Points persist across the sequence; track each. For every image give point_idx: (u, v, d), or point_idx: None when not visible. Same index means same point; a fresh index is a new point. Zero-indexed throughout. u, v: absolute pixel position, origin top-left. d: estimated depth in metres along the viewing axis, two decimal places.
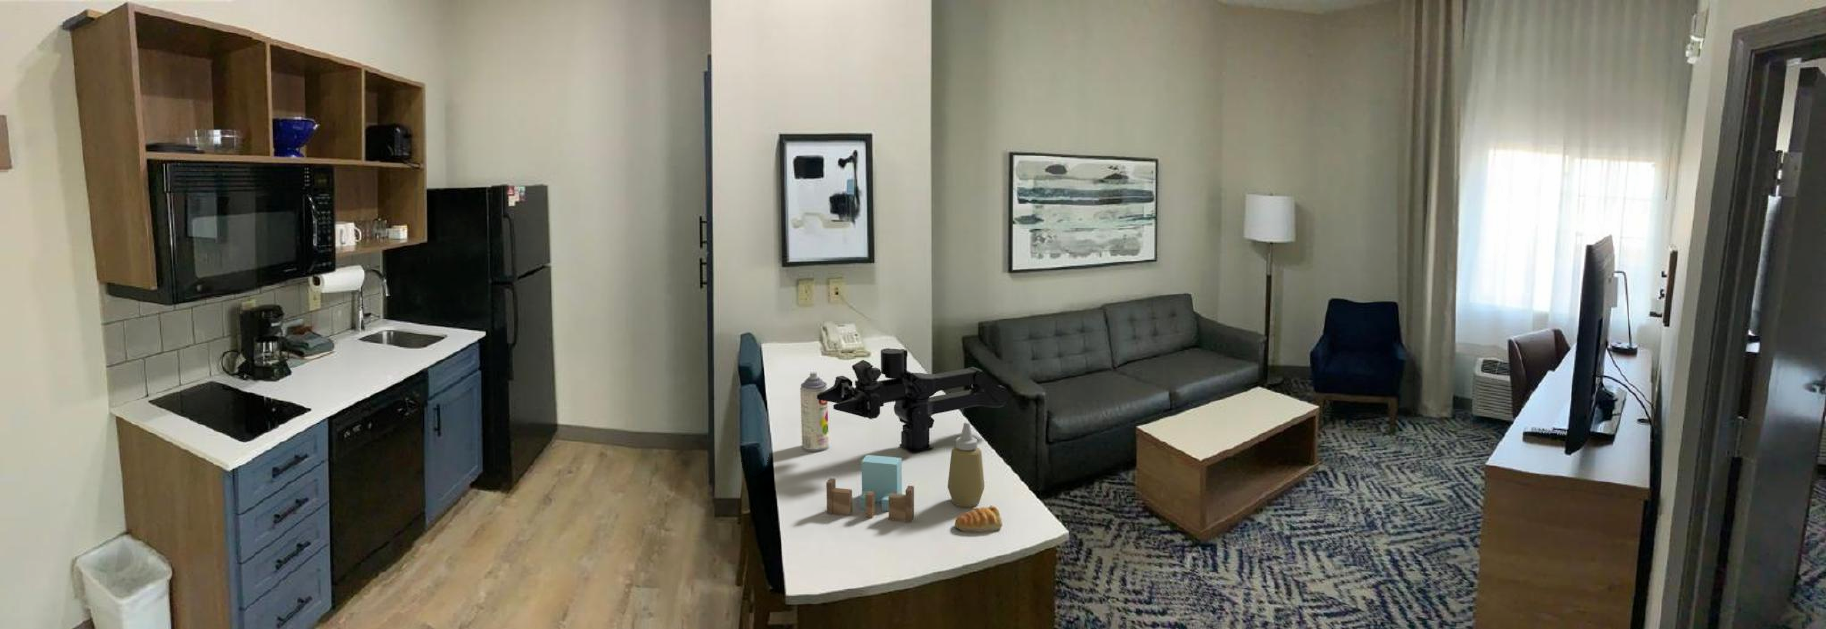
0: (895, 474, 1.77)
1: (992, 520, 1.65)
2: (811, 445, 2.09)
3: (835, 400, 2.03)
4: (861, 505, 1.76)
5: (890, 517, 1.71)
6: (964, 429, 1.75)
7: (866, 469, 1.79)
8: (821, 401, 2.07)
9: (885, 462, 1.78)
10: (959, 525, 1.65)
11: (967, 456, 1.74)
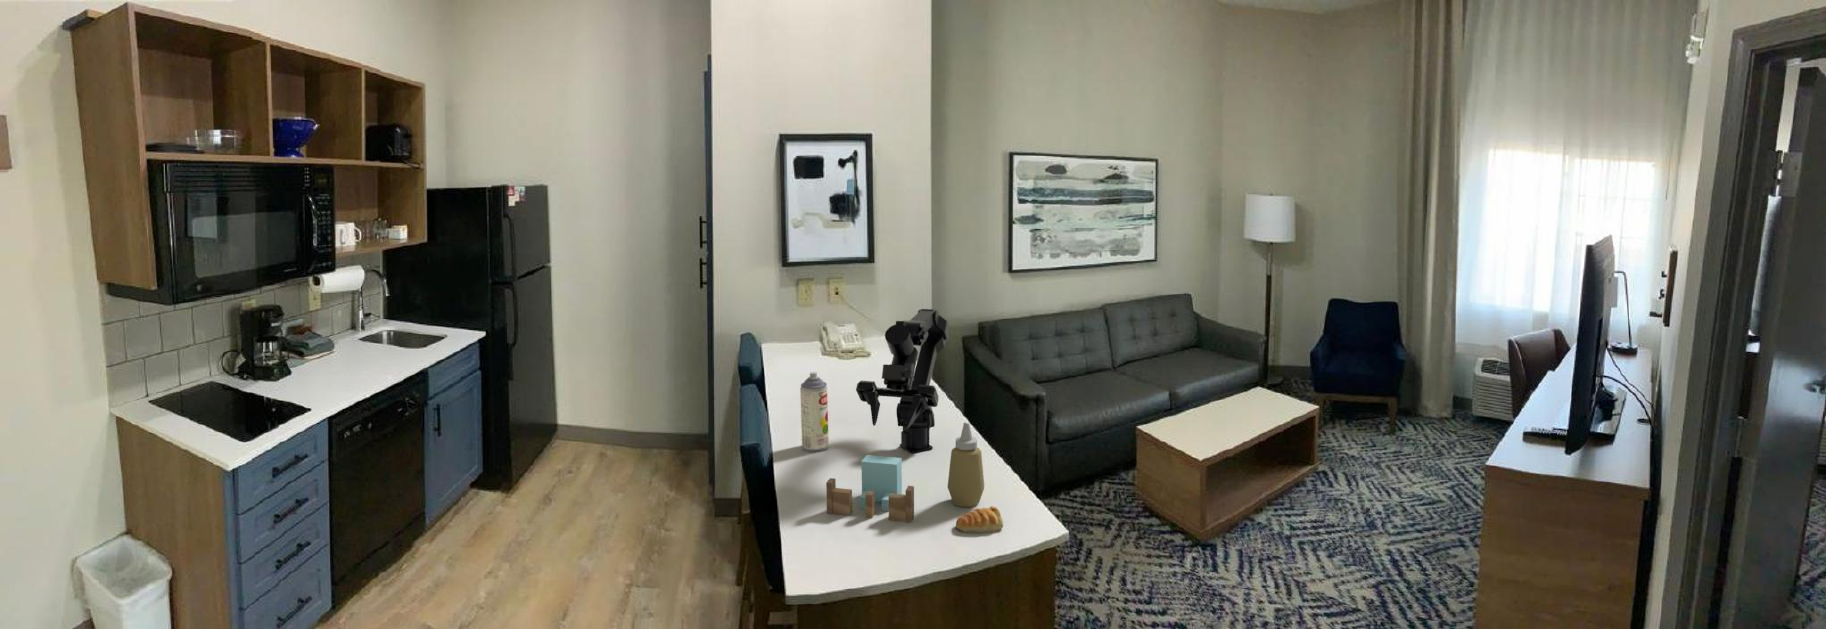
0: (895, 474, 1.77)
1: (993, 520, 1.65)
2: (811, 445, 2.09)
3: (878, 408, 1.92)
4: (861, 505, 1.76)
5: (890, 517, 1.71)
6: (964, 429, 1.75)
7: (866, 469, 1.79)
8: (821, 401, 2.07)
9: (885, 462, 1.78)
10: (960, 525, 1.65)
11: (967, 456, 1.74)
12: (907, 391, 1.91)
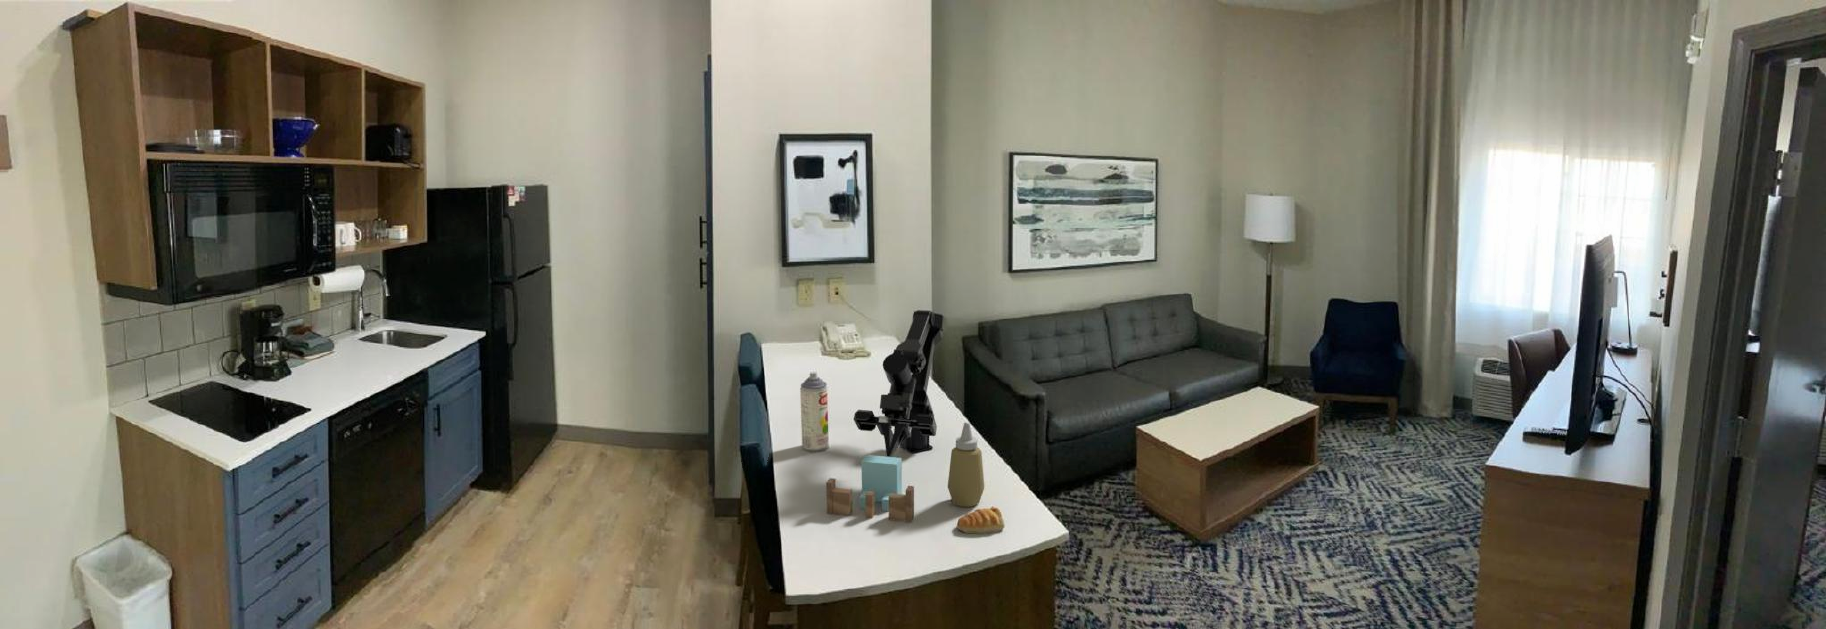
0: (895, 474, 1.77)
1: (995, 521, 1.65)
2: (811, 445, 2.09)
3: (892, 439, 1.89)
4: (861, 505, 1.76)
5: (890, 517, 1.71)
6: (964, 429, 1.75)
7: (866, 469, 1.79)
8: (821, 401, 2.07)
9: (885, 462, 1.78)
10: (961, 526, 1.64)
11: (967, 456, 1.74)
12: None
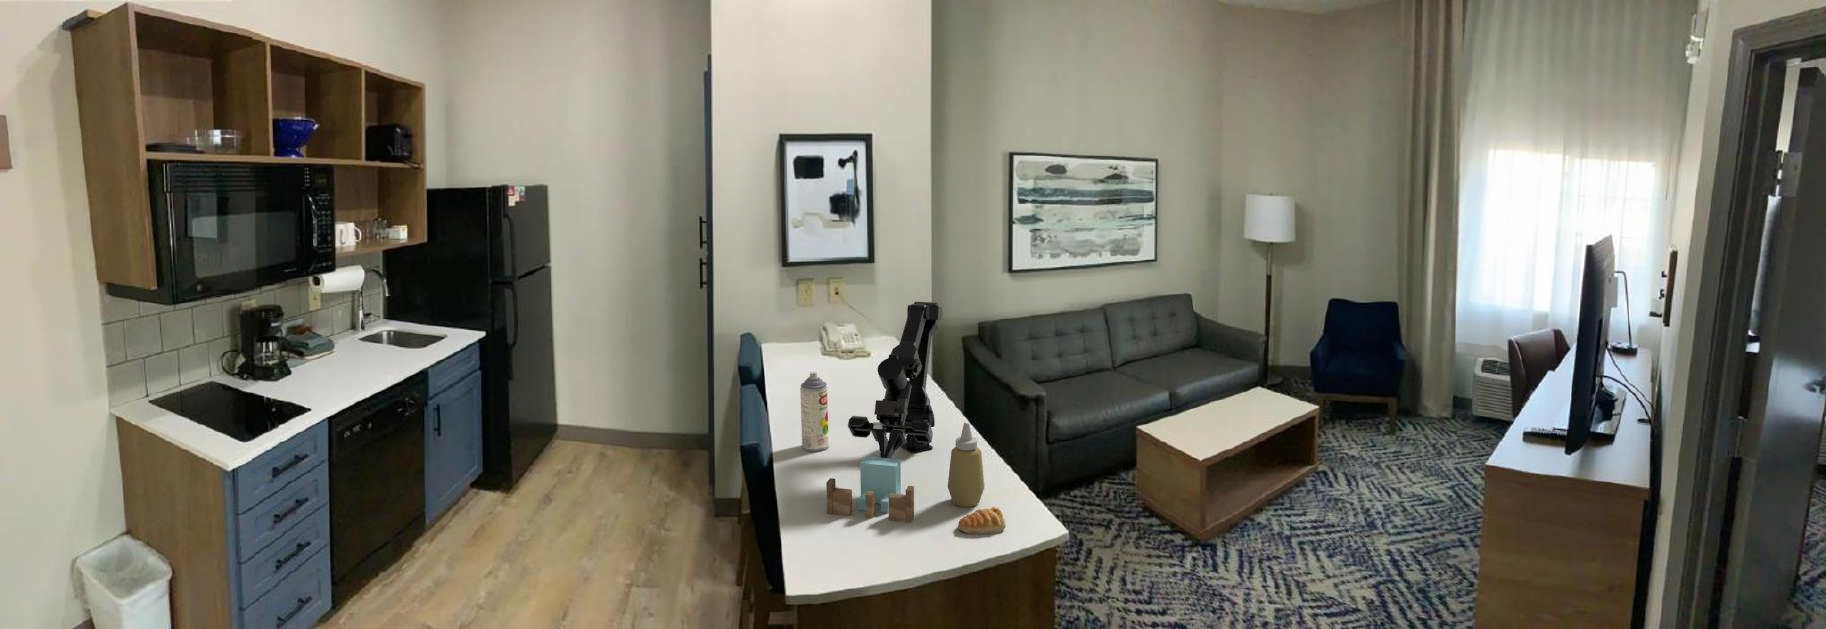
0: (894, 476, 1.76)
1: (996, 521, 1.64)
2: (811, 445, 2.09)
3: (886, 446, 1.85)
4: (860, 507, 1.75)
5: (890, 517, 1.71)
6: (964, 429, 1.75)
7: (864, 471, 1.78)
8: (821, 401, 2.07)
9: (884, 464, 1.77)
10: (963, 527, 1.64)
11: (967, 456, 1.74)
12: None
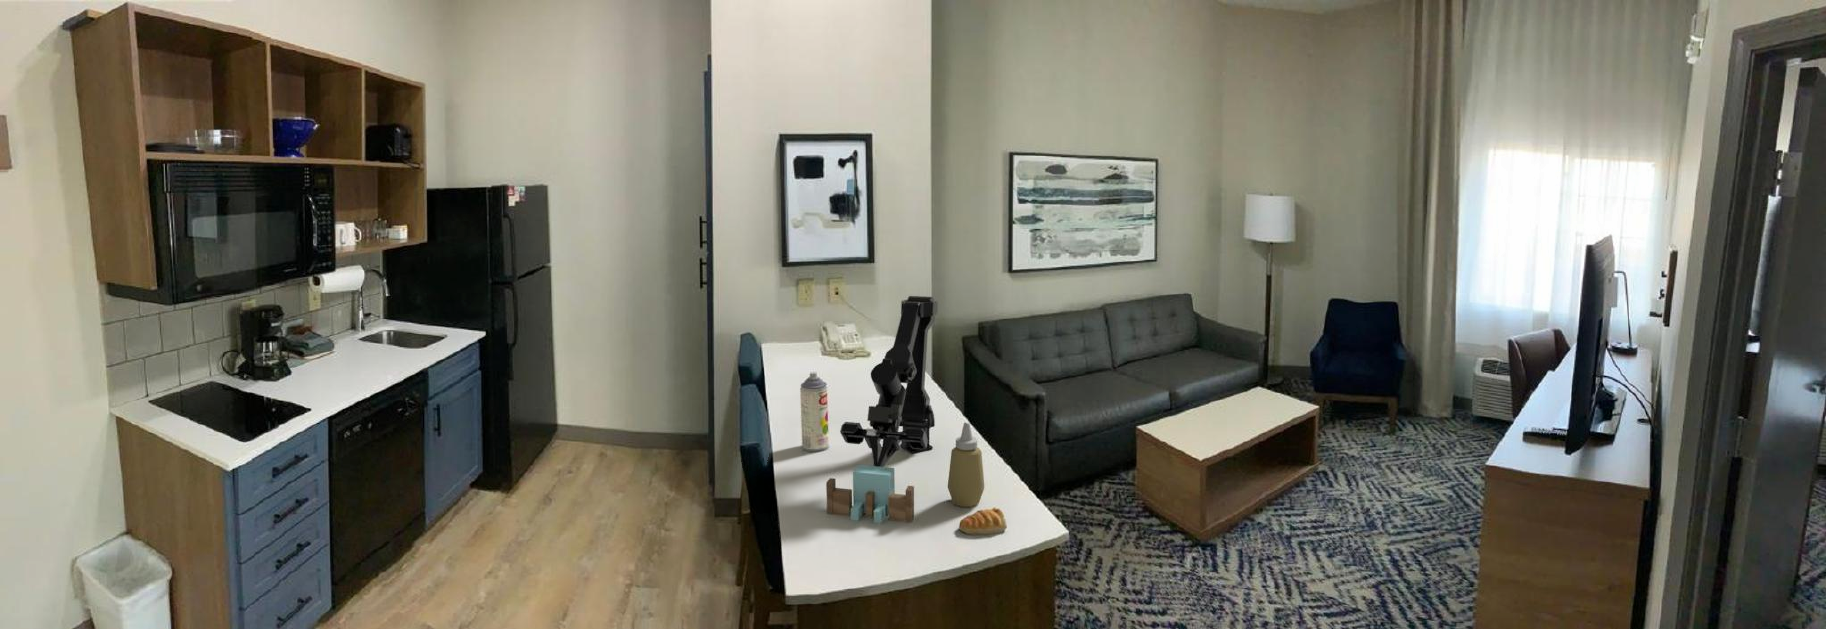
0: (887, 485, 1.71)
1: (997, 522, 1.64)
2: (811, 445, 2.09)
3: (880, 453, 1.80)
4: (852, 517, 1.70)
5: (890, 517, 1.71)
6: (964, 429, 1.75)
7: (857, 480, 1.73)
8: (821, 401, 2.07)
9: (877, 473, 1.72)
10: (964, 527, 1.64)
11: (967, 456, 1.74)
12: None
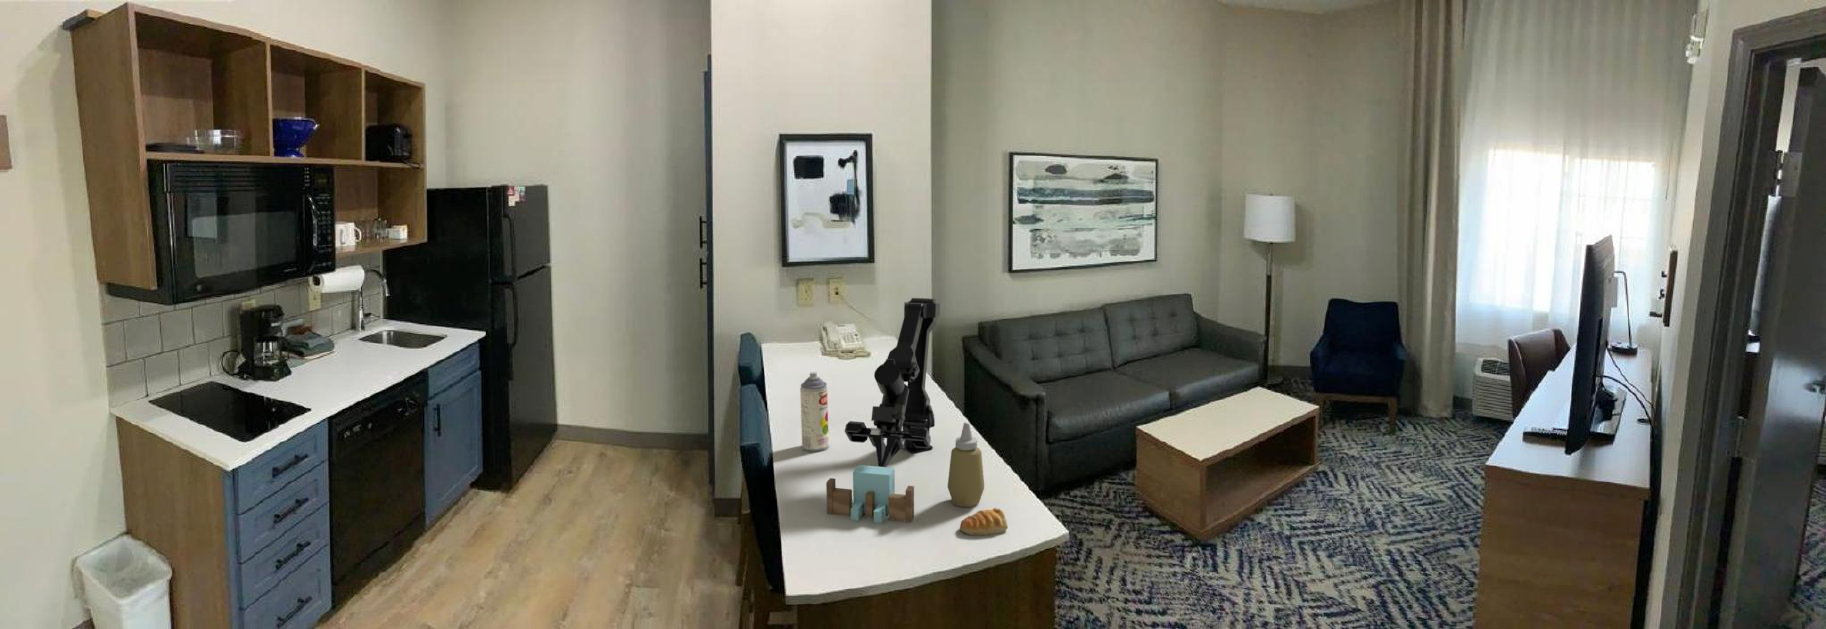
0: (887, 485, 1.71)
1: (998, 522, 1.64)
2: (811, 445, 2.09)
3: (884, 451, 1.83)
4: (852, 517, 1.70)
5: (890, 517, 1.71)
6: (964, 429, 1.75)
7: (857, 480, 1.73)
8: (821, 401, 2.07)
9: (877, 473, 1.72)
10: (965, 528, 1.64)
11: (967, 456, 1.74)
12: None
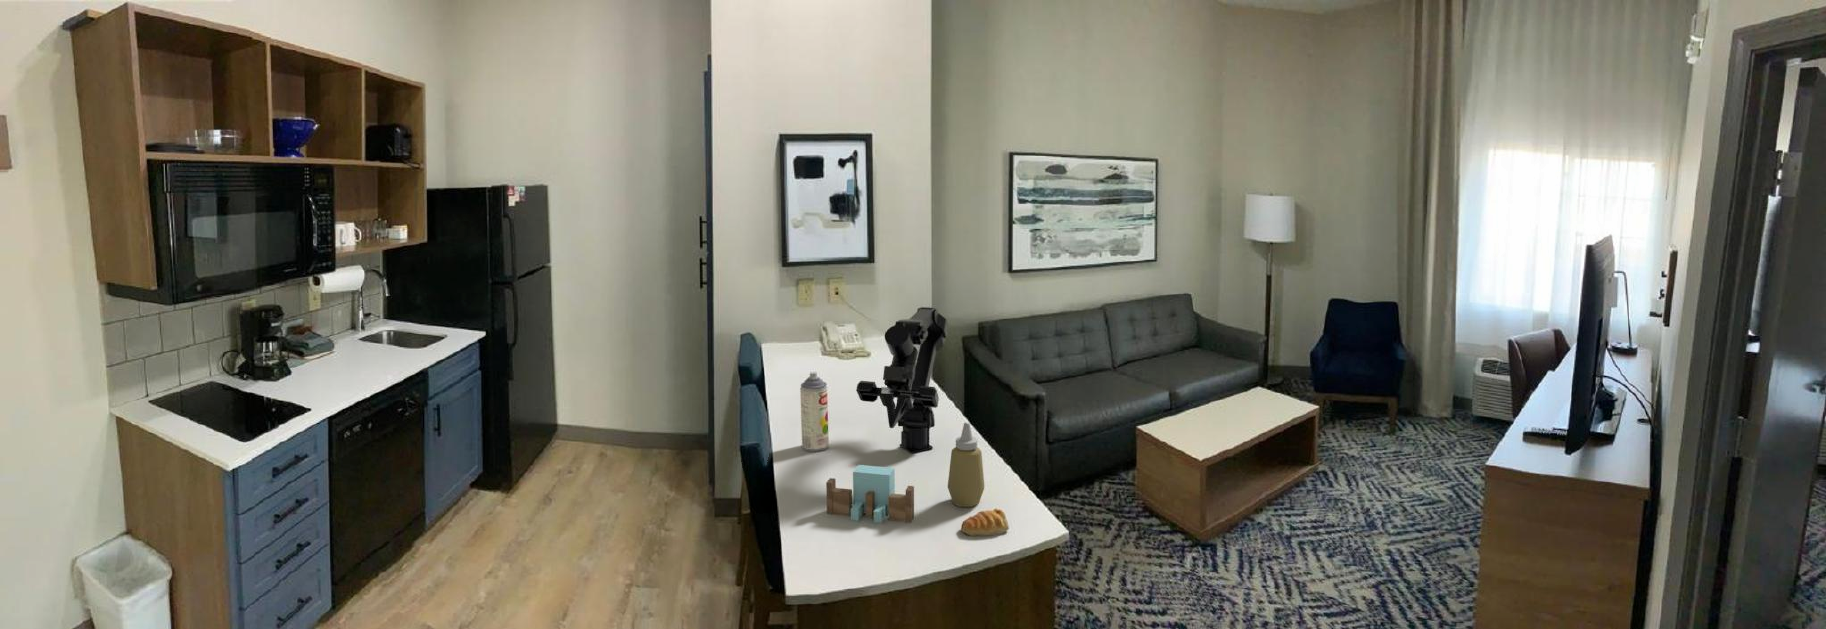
0: (887, 485, 1.71)
1: (999, 523, 1.64)
2: (811, 445, 2.09)
3: (894, 410, 1.91)
4: (852, 517, 1.70)
5: (890, 517, 1.71)
6: (964, 429, 1.75)
7: (857, 480, 1.73)
8: (821, 401, 2.07)
9: (877, 473, 1.72)
10: (966, 529, 1.63)
11: (967, 456, 1.74)
12: None
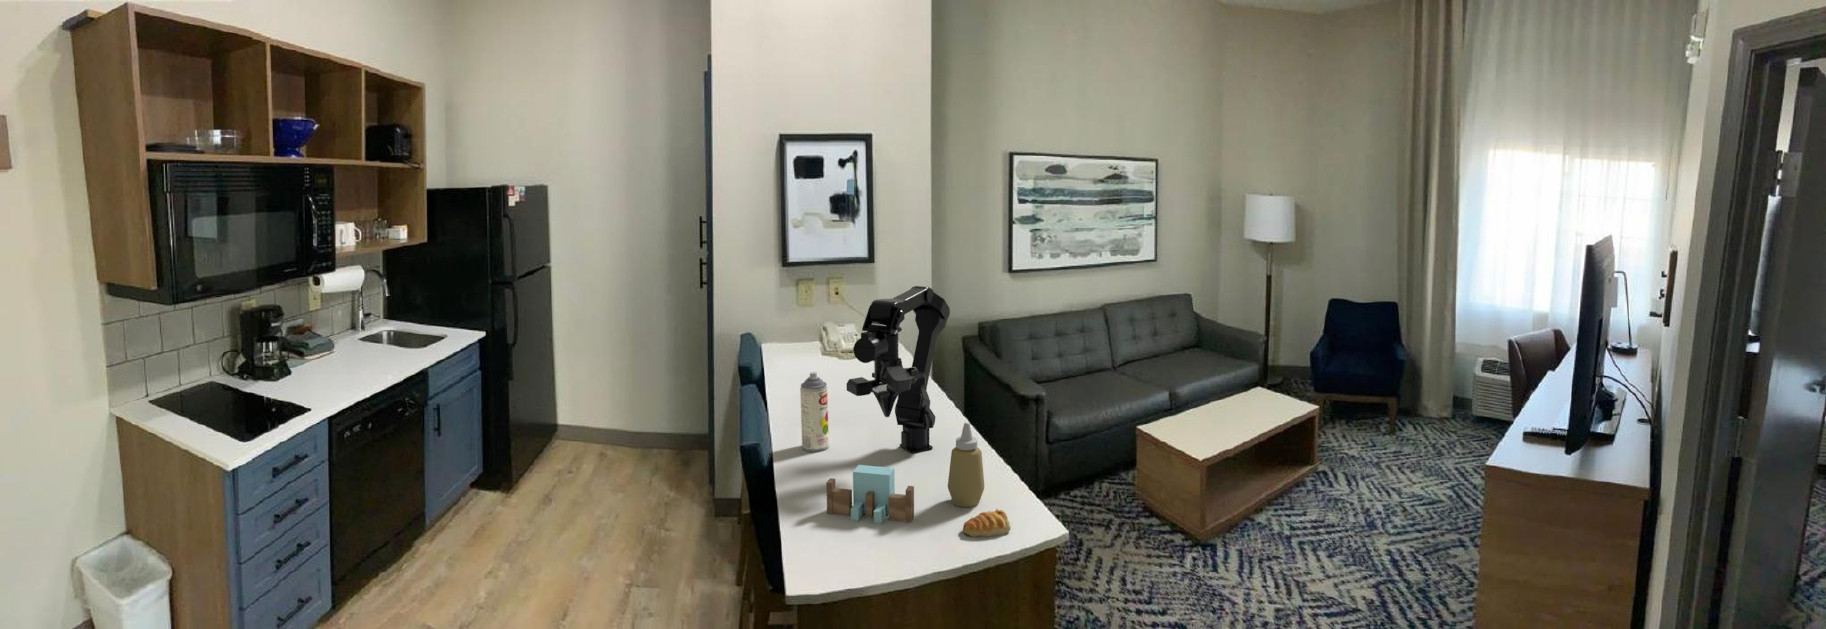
0: (887, 485, 1.71)
1: (1001, 524, 1.63)
2: (811, 445, 2.09)
3: None
4: (852, 517, 1.70)
5: (890, 517, 1.71)
6: (964, 429, 1.75)
7: (857, 480, 1.73)
8: (821, 401, 2.07)
9: (877, 473, 1.72)
10: (968, 530, 1.63)
11: (967, 456, 1.74)
12: None
